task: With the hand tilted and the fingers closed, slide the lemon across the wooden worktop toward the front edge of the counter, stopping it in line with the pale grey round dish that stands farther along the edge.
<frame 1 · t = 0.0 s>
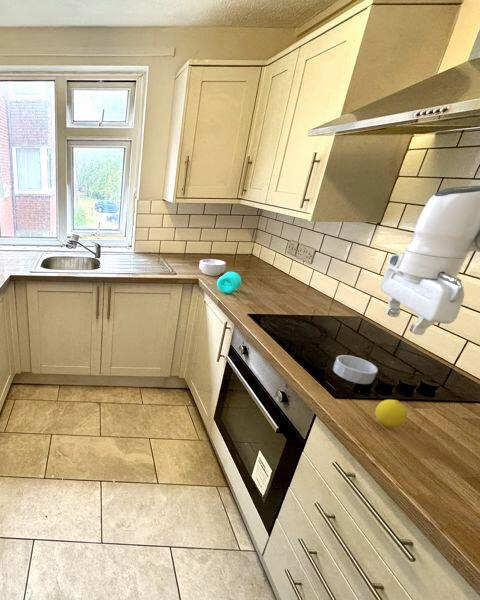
hand: (403, 324, 73), 27 cm above the worktop, tool pointing down, fingers open, 8 cm apart
lemon: (384, 426, 80), on the worktop
turquoise rounded cylinder: (227, 291, 170), on the worktop
pale grey round dish: (352, 374, 100), on the worktop
paper bowls: (210, 274, 198), on the worktop
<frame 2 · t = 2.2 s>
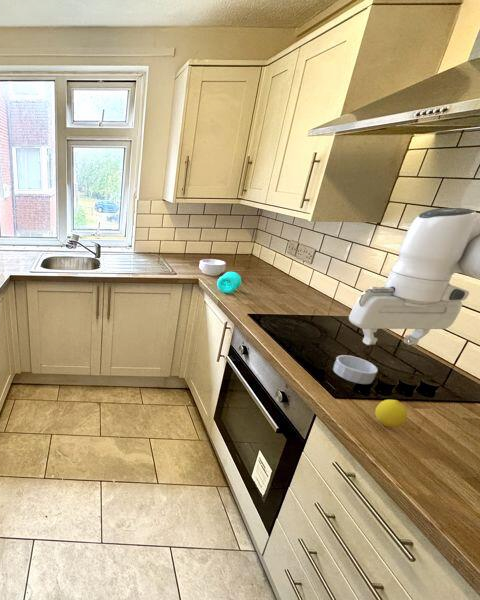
hand: (388, 343, 72), 23 cm above the worktop, tool pointing down, fingers open, 8 cm apart
nothing on the worktop moved.
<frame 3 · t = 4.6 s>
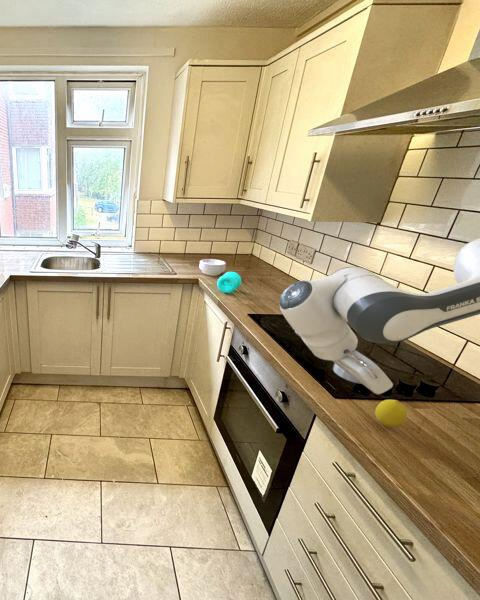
hand: (358, 376, 74), 15 cm above the worktop, tool tilted 45°, fingers closed
nothing on the worktop moved.
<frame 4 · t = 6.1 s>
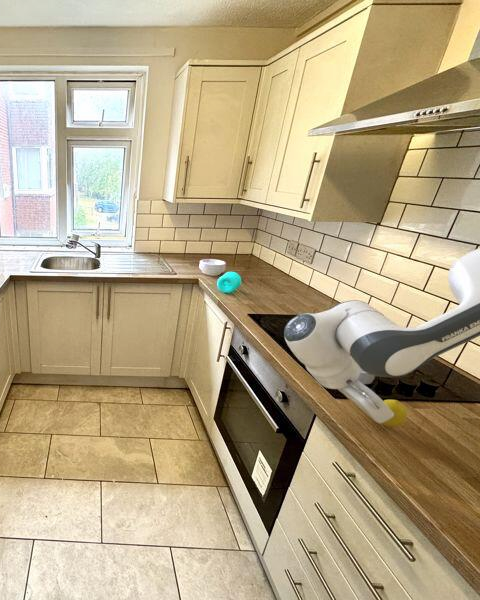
hand: (360, 402, 77), 7 cm above the worktop, tool tilted 45°, fingers closed
nothing on the worktop moved.
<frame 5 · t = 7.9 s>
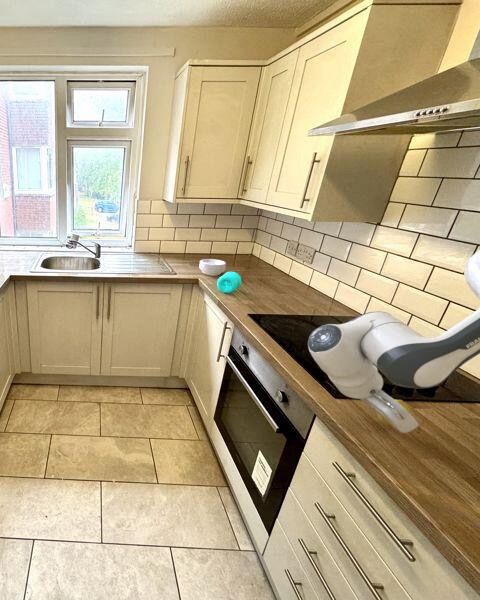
hand: (381, 411, 78), 5 cm above the worktop, tool tilted 45°, fingers closed, pressing on lemon
lemon: (384, 425, 80), on the worktop, touching gripper
everything else where it was.
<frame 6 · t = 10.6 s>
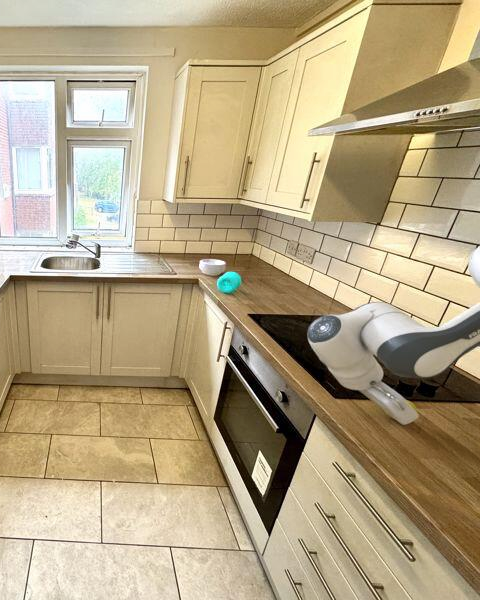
hand: (381, 403, 78), 7 cm above the worktop, tool tilted 45°, fingers closed
lemon: (385, 411, 81), point 3 cm above the worktop
everything else where it was.
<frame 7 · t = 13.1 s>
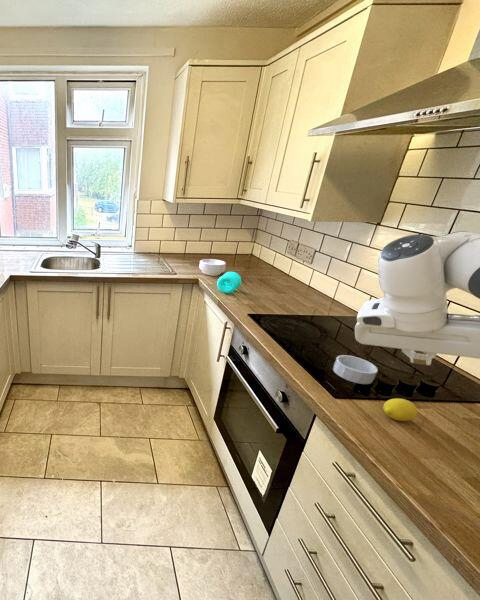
hand: (421, 362, 69), 21 cm above the worktop, tool tilted 30°, fingers closed
nothing on the worktop moved.
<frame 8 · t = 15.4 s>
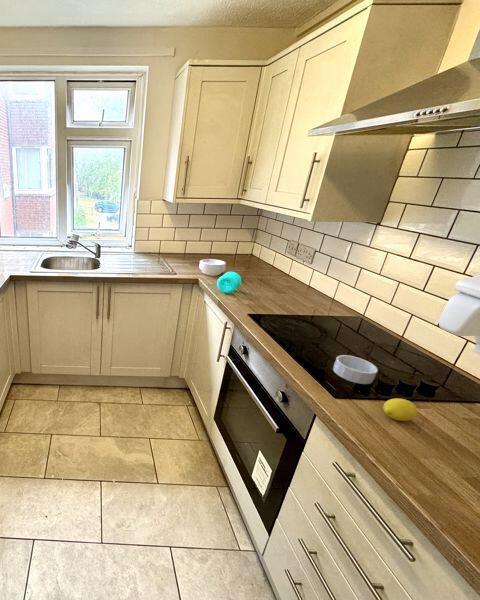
nothing on the worktop moved.
at the end: lemon inside the target area on the worktop beside the pale grey round dish (4.1 cm from its centre), point 2.7 cm above the worktop; lemon moved 3.8 cm from its start; the gripper is holding nothing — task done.
